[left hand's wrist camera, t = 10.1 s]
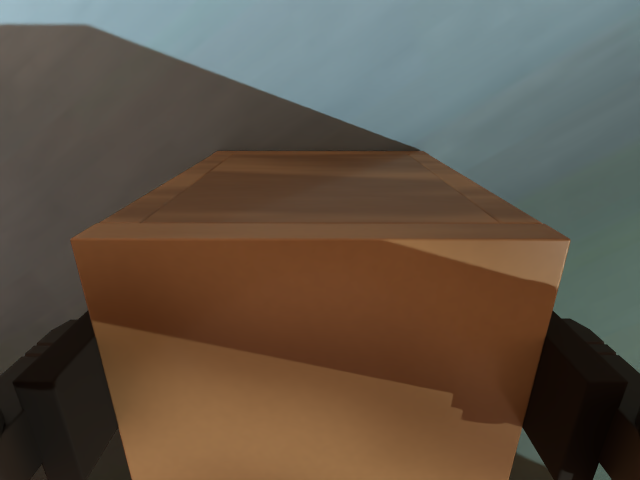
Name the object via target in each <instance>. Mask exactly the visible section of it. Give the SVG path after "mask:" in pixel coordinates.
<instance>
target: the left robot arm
mask: <svg viewBox="0 0 640 480" xmlns="http://www.w3.org/2000/svg"><path fill="white" fill-rule="evenodd" d="M522 427H523V429H524V431H525V432H526V434H527V435H528V437H529V439H530V440H531V442H532V444H533V445H534V447H535V449H536V450H537V452H538V454H539V455H540V457H541V459H542V460H543V462H544V464H545V465H546V467H547V469H548V470H549V472H550V474H551V475H552V477H553V479H554V480H593V478H594V475H595V472H596V469H597V467H598V464H599V463H600V464H601V465H602V467H603V468H604V469H605V471H606V472H607V473H608V475H609V476H610V477H611V480H640V373H639V372H637V371H636V370H635V369H634V368H633V367H632V366H631V365H629V364H628V363H627V362H626V361H625V360H624V359H623V358H622V357H620V356H619V355H616V352H615V351H614V350H613V349H611V348H610V347H609V346H608V345H607V344H604V342H603V341H602V340H601V339H600V338H599V337H598V336H597V335H596V334H594V333H593V332H592V331H591V330H590V329H588V328H586V327H584V326H583V325H581V324H579V323H577V322H575V321H574V320H572V319H561V318H560V317H559V316H558V315H557V314H556V313H555V312H554V311H553V310H552V314H551V318H550V322H549V326H548V330H547V334H546V337H545V341H544V345H543V349H542V353H541V357H540V361H539V364H538V368H537V372H536V376H535V380H534V384H533V388H532V391H531V395H530V399H529V403H528V407H527V411H526V415H525V418H524V422H523V426H522ZM117 428H118V424H117V420H116V416H115V412H114V408H113V404H112V400H111V397H110V393H109V389H108V385H107V381H106V377H105V373H104V369H103V365H102V361H101V358H100V354H99V350H98V346H97V342H96V338H95V334H94V330H93V326H92V323H91V319H90V315H89V311H87V312H86V313H85V314H84V315H83V316H81V317H80V318H79V319H78V320H70V321H68V322H66V323H64V324H62V325H60V326H59V327H57V328H55V329H53V330H51V331H50V332H49V333H48V334H47V335H46V336H45V337H43V338H42V339H41V340H40V341H39V342H38V343H37V346H33V347H32V348H31V349H30V350H29V351H28V352H27V353H25V356H24V357H21V358H20V359H19V360H18V361H16V362H15V363H14V364H13V365H12V366H11V367H10V368H9V369H7V370H6V371H5V372H4V373H3V374H2V375H1V376H0V480H30V479H31V478H32V476H33V475H34V474H35V472H36V471H37V470H38V468H39V467H40V466H41V464H42V465H43V468H44V471H45V473H46V476H47V479H48V480H86V479H87V478H88V476H89V474H90V473H91V471H92V469H93V468H94V466H95V464H96V463H97V461H98V459H99V458H100V456H101V454H102V453H103V451H104V449H105V448H106V446H107V444H108V443H109V441H110V440H111V438H112V436H113V435H114V433H115V431H116V430H117Z"/></svg>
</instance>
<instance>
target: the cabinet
mask: <svg viewBox="0 0 640 480" xmlns="http://www.w3.org/2000/svg"><path fill="white" fill-rule="evenodd" d="M71 245H72V249H73V252H74V256H75V260H76V264H77V268H78V272H79V276H80V280H81V284H82V287H83V291H84V295H85V299H86V303H87V307H88V311H89V315H90V319H91V323H92V326H93V330H94V334H95V338H96V342H97V346H98V350H99V354H100V358H101V361H102V365H103V369H104V373H105V377H106V381H107V385H108V389H109V393H110V397H111V400H112V404H113V408H114V412H115V416H116V420H117V424H118V428H119V432H120V436H121V439H122V443H123V447H124V451H125V455H126V459H127V463H128V467H129V471H130V474H131V478H132V480H509V476H510V472H511V469H512V465H513V461H514V457H515V453H516V449H517V445H518V442H519V438H520V434H521V430H522V426H523V422H524V418H525V415H526V411H527V407H528V403H529V399H530V395H531V391H532V388H533V384H534V380H535V376H536V372H537V368H538V364H539V361H540V357H541V353H542V349H543V345H544V341H545V337H546V334H547V330H548V326H549V322H550V318H551V314H552V310H553V307H554V303H555V299H556V295H557V291H558V287H559V283H560V280H561V276H562V272H563V268H564V264H565V260H566V256H567V253H568V249H569V245H570V239H569V238H568V237H566V236H564V235H563V234H561V233H559V232H558V231H556V230H554V229H553V228H551V227H549V226H547V225H546V224H542V223H541V222H540V221H538V220H536V219H535V218H533V217H531V216H530V215H528V214H526V213H525V212H523V211H521V210H520V209H518V208H516V207H515V206H513V205H511V204H510V203H508V202H506V201H505V200H503V199H501V198H500V197H498V196H496V195H495V194H493V193H491V192H490V191H488V190H486V189H485V188H483V187H481V186H480V185H478V184H476V183H475V182H473V181H472V180H470V179H468V178H467V177H465V176H463V175H462V174H460V173H458V172H457V171H455V170H453V169H452V168H450V167H448V166H447V165H445V164H443V163H442V162H440V161H438V160H437V159H435V158H433V157H432V156H430V155H429V154H427V153H426V152H424V151H217V152H215V153H213V154H212V155H211V156H209V157H207V158H206V159H204V160H202V161H201V162H199V163H197V164H196V165H194V166H192V167H191V168H189V169H187V170H186V171H184V172H182V173H181V174H179V175H177V176H176V177H174V178H172V179H171V180H169V181H167V182H166V183H164V184H162V185H161V186H159V187H157V188H156V189H154V190H152V191H151V192H149V193H147V194H146V195H144V196H142V197H141V198H139V199H137V200H136V201H134V202H132V203H131V204H129V205H127V206H126V207H124V208H122V209H121V210H119V211H117V212H116V213H114V214H113V215H111V216H109V217H108V218H106V219H104V220H103V221H101V222H99V223H96V224H94V225H93V226H91V227H89V228H88V229H86V230H84V231H83V232H81V233H79V234H78V235H76V236H74V237H73V238H71Z"/></svg>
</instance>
